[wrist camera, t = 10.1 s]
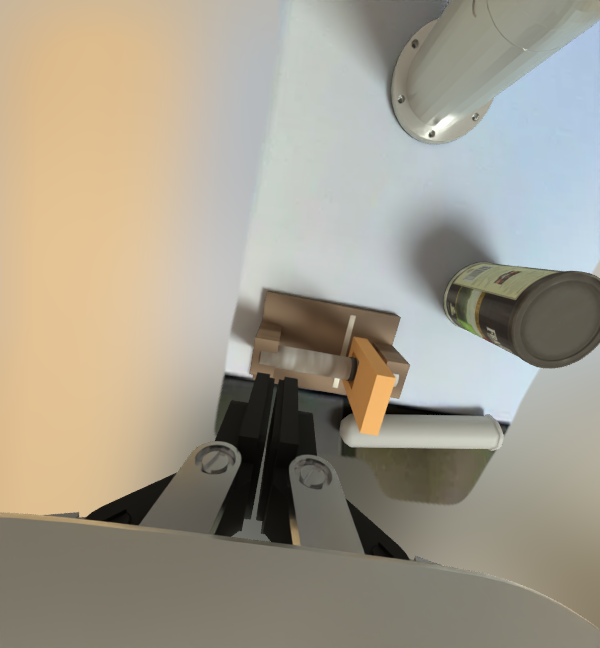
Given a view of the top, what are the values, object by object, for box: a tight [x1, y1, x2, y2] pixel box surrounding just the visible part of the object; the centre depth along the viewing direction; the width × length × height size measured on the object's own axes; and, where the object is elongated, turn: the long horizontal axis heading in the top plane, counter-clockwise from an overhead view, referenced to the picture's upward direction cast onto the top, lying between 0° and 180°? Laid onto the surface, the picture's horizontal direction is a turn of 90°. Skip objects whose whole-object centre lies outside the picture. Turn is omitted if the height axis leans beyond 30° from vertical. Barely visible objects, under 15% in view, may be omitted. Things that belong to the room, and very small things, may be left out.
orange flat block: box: [342, 337, 396, 436], centre depth 35 cm, size 7×2×12 cm, turn 169°
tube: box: [340, 414, 504, 451], centre depth 46 cm, size 5×5×25 cm
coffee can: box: [444, 262, 600, 368], centre depth 35 cm, size 10×10×14 cm
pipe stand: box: [250, 291, 410, 399], centre depth 40 cm, size 14×20×9 cm
